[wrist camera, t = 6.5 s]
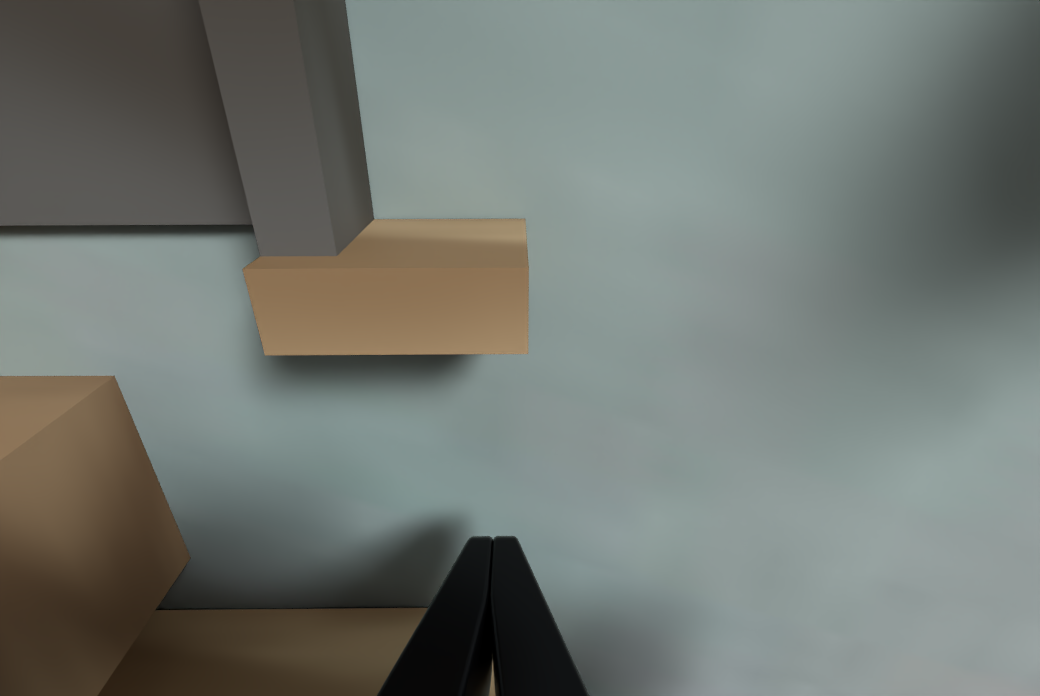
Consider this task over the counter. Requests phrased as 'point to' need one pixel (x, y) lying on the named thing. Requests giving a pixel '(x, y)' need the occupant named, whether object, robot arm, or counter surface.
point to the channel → (281, 242)
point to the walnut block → (76, 535)
